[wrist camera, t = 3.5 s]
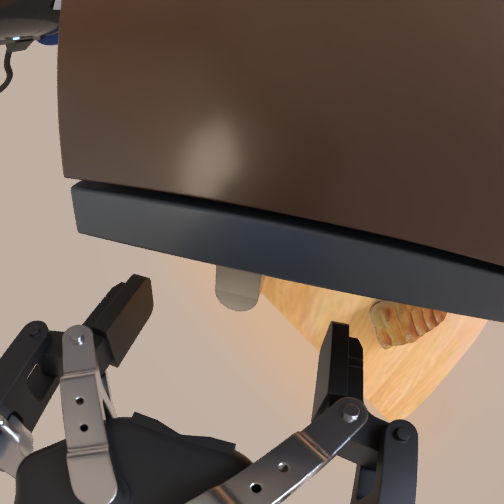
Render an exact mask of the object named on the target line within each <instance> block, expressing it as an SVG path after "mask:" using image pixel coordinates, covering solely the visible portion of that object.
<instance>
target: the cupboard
mask: <svg viewBox="0 0 504 504" xmlns="http://www.w3.org/2000/svg"><path fill="white" fill-rule="evenodd" d="M57 58H58V59H57V96H58V119H59V134H60V146H61V155H62V165H63V174H64V177H65V178H71V179H79V180H87V181H94V182H101V183H108V184H115V185H122V186H129V187H135V188H142V189H148V190H155V191H161V192H167V193H173V194H179V195H185V196H191V197H197V198H203V199H208V200H214V201H220V202H225V203H231V204H236V205H241V206H247V207H252V208H257V209H262V210H268V211H273V212H278V213H283V214H288V215H293V216H298V217H302V218H307V219H312V220H317V221H322V222H326V223H331V224H335V225H340V226H345V227H349V228H354V229H358V230H362V231H367V232H371V233H376V234H380V235H384V236H388V237H393V238H397V239H401V240H405V241H409V242H413V243H417V244H421V245H425V246H429V247H433V248H437V249H441V250H445V251H449V252H453V253H457V254H460V255H464V256H468V257H472V258H475V259H479V260H483V261H486V262H490V263H494V264H497V265H501V266H504V0H61V10H60V21H59V35H58V57H57Z"/></svg>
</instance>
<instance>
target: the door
mask: <svg viewBox="0 0 504 504" xmlns="http://www.w3.org/2000/svg"><path fill="white" fill-rule="evenodd" d="M71 194H72V201H73V208H74V214H75V219H76V225H77V230H78V232H79V233H82V234H86V235H90V236H94V237H98V238H102V239H106V240H111V241H115V242H119V243H123V244H128V245H131V246H136V247H140V248H145V249H149V250H153V251H158V252H162V253H166V254H170V255H175V256H179V257H183V258H188V259H192V260H197V261H201V262H205V263H210V264H215V265H216V287H215V292H216V296H217V298H218V300H219V301H220V302H221V303H222V304H223V305H224V306H226V307H227V308H229V309H232V310H235V311H246V310H249V309H251V308H253V307H254V306H255V305H256V304H257V301H258V298H259V295H260V292H261V289H262V285H263V282H264V279H265V276H269V277H274V278H279V279H283V280H288V281H293V282H297V283H302V284H307V285H312V286H317V287H321V288H326V289H331V290H336V291H341V292H346V293H351V294H356V295H361V296H366V297H371V298H376V299H381V300H386V301H391V302H396V303H401V304H407V305H412V306H417V307H422V308H427V309H433V310H438V311H443V312H449V313H454V314H460V315H465V316H471V317H476V318H482V319H488V320H493V321H499V322H504V266H501V265H497V264H494V263H490V262H486V261H483V260H479V259H475V258H472V257H468V256H464V255H460V254H457V253H453V252H449V251H445V250H441V249H437V248H433V247H429V246H425V245H421V244H417V243H413V242H409V241H405V240H401V239H397V238H393V237H388V236H384V235H380V234H376V233H371V232H367V231H362V230H358V229H354V228H349V227H345V226H340V225H335V224H331V223H326V222H322V221H317V220H312V219H307V218H302V217H298V216H293V215H288V214H283V213H278V212H273V211H268V210H262V209H257V208H252V207H247V206H241V205H236V204H231V203H225V202H220V201H214V200H208V199H203V198H197V197H191V196H185V195H179V194H173V193H167V192H161V191H155V190H148V189H142V188H135V187H129V186H122V185H115V184H108V183H101V182H94V181H87V180H81V181H80V182H78V183H76V184H75V185H73V186H72V187H71Z"/></svg>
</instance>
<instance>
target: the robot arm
mask: <svg viewBox="0 0 504 504" xmlns="http://www.w3.org/2000/svg"><path fill="white" fill-rule="evenodd" d="M60 10H61V0H0V45H4V44H6V47H7V50H6V54H5V59H4V68H5V71H6V73H7V78H6V80H5V82H4V83H3V84H2V85H1V86H0V92H2V91H3V90H4V89H5V88H6V87H7V86H8V85H9V83H10V82H11V79H12V76H13V72H12V69H11V66H10V58H11V54H12V52H16V51H22V50H26V49H27V47H28V46H29V45H30V44H31V43H32V42H33V41H34V40H42V39H44V38H45V37H46V36H49V35H56V34H59V21H60ZM152 310H153V296H152V288H151V280H150V278H147V277H143V276H140V275H136V274H133V275H132V276H131V277H130V278H129V279H128V281H127V282H126V283H123V282H121V283H119V284H118V285H116V286H114V287H113V288H112V289H111V290H110V291H109V292H108V293H107V295H106V297H104V299H103V300H102V301H101V303H99V305H98V306H97V307H96V308H95V310H94V311H93V312H92V313H91V314H90V316H89V317H88V318H87V320H86V321H85V322H84V323H83V324H82V325H75V326H72V327H70V328H69V329H67V330H66V331H65V332H59V331H49V329H48V327H47V325H46V324H45V323H44V322H42V321H32V322H30V323H28V324H27V325H26V326H25V327H24V328H23V329H22V330H21V332H20V333H19V334H18V336H17V337H16V338H15V339H14V341H13V342H12V344H11V345H10V346H9V348H8V349H7V350H6V352H5V353H4V354H3V356H2V357H1V358H0V471H3V472H6V473H8V474H9V475H11V476H12V477H14V478H15V479H16V495H15V501H14V504H280V503H281V502H283V501H284V500H286V499H287V498H288V497H289V496H291V495H292V494H293V493H294V492H296V491H297V490H298V489H299V488H300V487H301V486H303V485H304V484H305V483H306V482H307V481H308V480H309V479H311V478H312V477H313V476H314V475H315V474H316V473H318V472H319V471H320V470H321V469H322V468H323V467H324V466H325V465H326V464H327V463H329V462H330V461H331V460H332V459H333V458H334V457H335V456H336V455H338V456H340V457H342V458H345V459H347V460H349V461H352V462H354V463H356V464H357V467H356V474H355V480H354V486H353V492H352V498H351V503H350V504H415V496H416V483H417V463H418V462H417V461H418V433H417V430H416V428H415V427H414V426H413V425H412V424H411V423H410V422H408V421H406V420H401V419H399V420H394V421H392V422H391V423H388V422H386V421H383V420H381V419H379V418H376V417H375V416H373V415H371V414H370V413H369V412H368V410H367V408H366V406H365V405H364V402H363V348H362V346H361V344H360V342H359V340H358V339H357V338H352V337H349V324H345V323H339V322H334V321H331V323H330V325H329V328H328V331H327V333H326V336H325V338H324V341H323V344H322V347H321V350H320V355H319V362H318V372H317V381H316V389H315V397H314V404H313V412H312V419H311V422H312V423H311V424H310V425H309V426H307V427H306V428H305V429H304V430H302V431H301V432H296V433H294V434H293V435H291V436H290V437H289V438H287V439H286V440H285V441H283V442H282V443H281V444H279V445H278V446H277V447H276V448H274V449H273V450H271V451H270V452H269V453H267V454H266V455H265V456H263V457H262V458H260V459H259V460H257V461H256V462H255V463H252V462H251V461H250V460H249V459H248V458H247V457H246V456H244V455H243V454H241V453H240V452H238V451H236V450H235V446H236V444H234V443H230V442H226V441H223V440H219V439H215V438H212V437H203V436H189V435H181V434H178V433H177V432H175V431H174V430H172V429H171V428H169V427H167V426H166V425H164V424H163V423H161V422H159V421H158V420H156V419H153V418H150V417H147V416H145V415H142V414H140V413H137V412H134V414H133V416H132V417H118V418H117V415H116V412H115V409H114V406H113V402H112V397H111V392H110V386H109V381H108V376H107V371H106V369H107V368H108V366H109V364H110V365H112V366H115V367H118V366H119V365H120V363H121V362H122V360H123V358H124V357H125V355H126V354H127V352H128V350H129V349H130V347H131V345H132V344H133V342H134V341H135V339H136V338H137V336H138V334H139V333H140V331H141V330H142V328H143V326H144V325H145V323H146V322H147V320H148V319H149V317H150V315H151V313H152ZM36 364H37V365H36ZM35 365H36V366H35ZM34 366H35V368H34ZM33 368H34V369H33ZM32 369H33V371H32ZM31 371H32V372H31ZM30 372H31V374H30ZM29 374H30V375H29ZM28 376H29V377H28ZM27 377H28V378H27ZM59 383H60V391H61V403H62V412H63V421H64V429H65V436H66V439H64V440H62V441H59V442H57V443H55V444H52V445H50V446H47V447H45V448H42V449H41V450H38V451H35V452H33V453H31V452H32V451H33V437H32V434H31V433H32V431H33V429H34V427H35V426H36V424H37V422H38V420H39V418H40V416H41V415H42V413H43V411H44V409H45V407H46V406H47V404H48V402H49V400H50V399H51V397H52V395H53V393H54V392H55V390H56V388H57V387H58V385H59Z"/></svg>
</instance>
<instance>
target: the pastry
mask: <svg viewBox="0 0 504 504" xmlns="http://www.w3.org/2000/svg"><path fill="white" fill-rule="evenodd" d="M446 314H447V312H443V311H438V310H433V309H427V308H422V307H417V306H412V305H407V304H401V303H396V302H391V301H386V300H382V301H380V302H378V303H377V304H375V305H374V306H373V307H372V308H371V309H370V315H371V320H372V323H373V325H374V328H375V331H376V335H377V338H378V342H379V344H380V345H381V347H382V348H384V349H388V348H390V347H392V346H398V345H404V344H406V343H412V342H415V341H416V340H417V339H418V338H419V337H421V336H423V335H424V334H425V333H426V332H428V331H431V330H432V329H433V328H435V327H436V326H438V325H439V324H440V323H441V322H442V321H443V320H444V319H445V316H446Z"/></svg>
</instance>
